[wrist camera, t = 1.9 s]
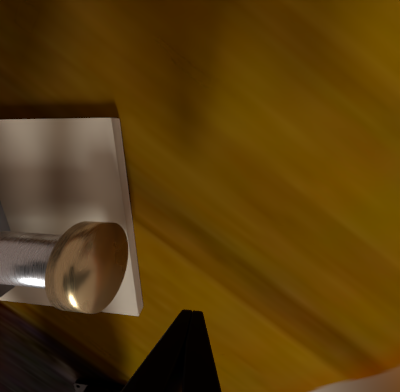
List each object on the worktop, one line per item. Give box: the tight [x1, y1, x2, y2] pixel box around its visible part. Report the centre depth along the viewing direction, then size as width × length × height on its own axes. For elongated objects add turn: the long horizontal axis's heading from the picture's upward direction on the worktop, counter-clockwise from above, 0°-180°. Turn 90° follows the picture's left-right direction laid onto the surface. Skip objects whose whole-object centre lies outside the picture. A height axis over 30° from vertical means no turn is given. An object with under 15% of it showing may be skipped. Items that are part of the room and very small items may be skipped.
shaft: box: [0, 221, 128, 314], centre depth 12 cm, size 13×5×5 cm, turn 91°
